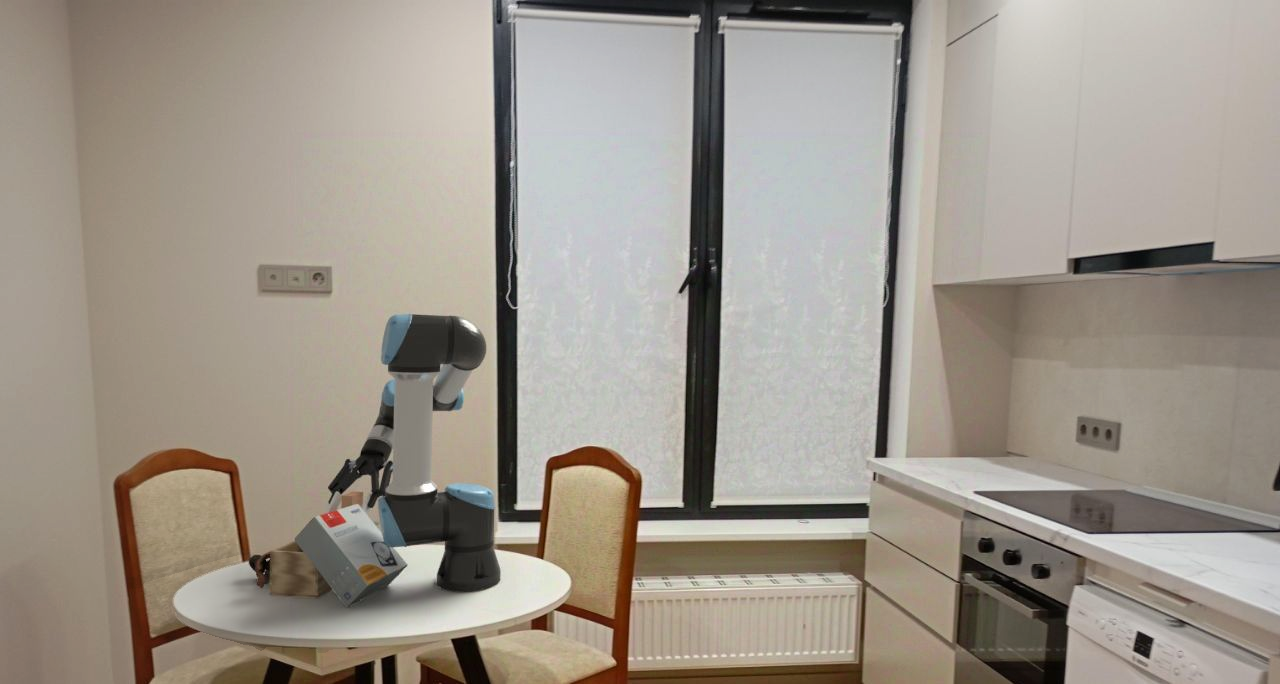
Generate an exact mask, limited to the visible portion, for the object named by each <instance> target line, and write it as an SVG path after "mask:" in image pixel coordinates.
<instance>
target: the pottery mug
mask: <svg viewBox="0 0 1280 684" xmlns="http://www.w3.org/2000/svg"><path fill="white" fill-rule="evenodd" d="M248 565H249V567H250V569H252V570H253V572H255V576H256V577H257V579H256V586H257V587H258V588H261V589H262V588H263V587H264V585H268V584H270V551H268V552H266V553H263V554H262V555H260V554H253V555H252V556H251V557H250V558H249V559H248Z"/></svg>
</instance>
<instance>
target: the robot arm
mask: <svg viewBox="0 0 1280 684" xmlns="http://www.w3.org/2000/svg"><path fill="white" fill-rule="evenodd" d="M381 343H382V344H381V355H380V361H381V364H383V365H385V366H387V373H388V374H389V375H390V376H391V377H392V379H390V380H388V381H387V382H386V383H385V385H384V387H383V391H382V392H381V402H380V407H379V413H378V415H377V418H376V420H375V422H374V424H373V426H372V427H371V430H370V432H369V434H368V435H367V437H366V441H364V444H363V446H362V447H361V450H360V453H359V456H358V457H357V458H356V460H355V459H354V460H351V459H350V458H347V459H345V462H344V464H343V466H342V467H341V469H340V470H339V472H338V473H337V474H336V476H335V477H334V478H333V479H332V481H331V482H330V483H329V485H328V486H327V489H328V491H329V492H330V493H331V495H330V497H329V500H328V507H327V508H326V510H325V512H324V514H326V513H329V512H332V511H335V510H338V507H339V505H340V503H342V495H343V494H344V493H345V492H346V491H347V490H348V489H349V488H350V487H351V486H352V485H353V484H354V483H355V482H356V481H357V480H358V479H361V478H362V477H363V476H370V482H371V490H370V492H368V493H367V495H366V496H365V499H364V500H363V505H362V507H361V508H362V509H363V511H364V512H365V513H366V514H367V515H369V512H370V509H373V508H374V507H375V505H376V503H377V505H378V506H377V508H378V509H377V510H378V518H379V525H380V531H381V533H382V536H383V540H384V543H385V544H386V545H387V546H388V547H394V548H401V547H402V548H403V547H404V548H407V547H412V546H419V545H420V546H421V545H427V544H436V543H444V552H443V555H442V558H441V561H440V564H439V567H438V570H437V573H436V585H437V586H438V588H440V589H442V590H445V591H450V592H475V591H480V590H481V591H482V590H485V589H488V588H491V587H493V586H495V585H497V584H498V583H500V581H501V575H502V574H501V567H500V564H499V560H498V557H497V553H496V552H495V546H494V545H495V544H494V543H495V542H494V541H495V510H496V506H495V495H494V491H493V490H491V488H489V487H487V486H483V485H478V484H471V483H449V484H447V485H446V486H445V488H444V491H441V492H440V491H438V485H437V484H436V483H435V481H433V480H432V455H433V453H432V452H433V451H432V449H433V447H432V445H433V412H452V411H459V410H461V409H462V408H463V405H464V402H465V400H464V399H465V396H464V395H465V393H464V389H463V388H464V386H465V385H466V383H467V381H468V379H469V377H470V376H471V374H472V372H473V371H474V370H476V369H478V368H479V367H480V366H481V365H482V363H483V361H484V359H485V357H486V354H487V341H486V338H485V336H484V334H483V332H482V331H481V330H480V328H478V326H477V325H476V324H475V323H473V322H472V321H470V320H468V319H467V318H464V317H462V316H457V315H439V314H438V315H435V314H434V315H433V314H431V315H430V314H415V313H413V314H412V313H406V314H404V313H402V314H393V315H391V316H390V317H389V318H388V320H387V322H386V324H385V328H384V334H383V337H382V342H381ZM435 378H436V379H435ZM434 379H435V382H434ZM391 453H392V460H389V459H390V456H391ZM382 469H383V472H382V476H381V480H380V479H379V478H380V471H381V470H382ZM391 477H392V481H391ZM390 482H391V483H390Z"/></svg>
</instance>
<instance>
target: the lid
mask: <svg viewBox="0 0 1280 684" xmlns="http://www.w3.org/2000/svg"><path fill="white" fill-rule="evenodd" d="M341 496H342V500H341V502H340V503H341V505H340V506H341V507H340V509H342V508H346V507H349V506H352V505H355V504H359V506H360V507H362V505H363V503H364V492H363V491H350V492H348V493H346V494H341ZM372 522H373V523H374V524H375V525H376V527H378V526H379V525H380V521H373V520H372Z"/></svg>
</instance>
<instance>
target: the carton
mask: <svg viewBox="0 0 1280 684" xmlns="http://www.w3.org/2000/svg"><path fill="white" fill-rule="evenodd" d="M269 552H270V558H269V559H270V583H269V591H268V592H269V593H268V594H269V596H278V597H279V596H281V597H291V598H293V597H294V598H304V599H305V598H306V599H307V598H308V599H319V598H321V597H322V596H325V595H326V594H328V593H329V592H331V591H334V590H333V589H332V588H331V587H330V585H329V584H328V583H327V581H326V580H325V579H324V577H323V576H322V575H321V574H320V572H319V571H318V570H317V568H316V567H315V566H314V564H313V563H312V562H311V561H310V559H309V558H308V557H307V555H306V554H305V553H304V552H303V550H302V549H301V548H300V547H299V545H298V544H297V543H296V541H295V540H293V541H290V542H288V543H285V544H283V545H281V546H279V547H275V548H274V549H271V550H270V551H269Z"/></svg>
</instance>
